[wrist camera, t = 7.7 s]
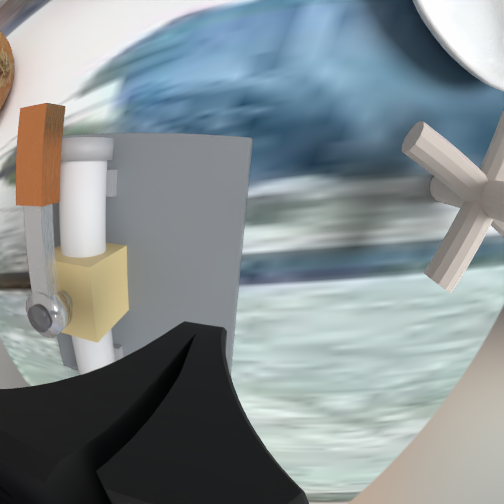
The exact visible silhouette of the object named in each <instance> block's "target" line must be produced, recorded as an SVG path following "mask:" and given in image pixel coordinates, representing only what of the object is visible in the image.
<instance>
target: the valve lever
mask: <svg viewBox="0 0 504 504" xmlns="http://www.w3.org/2000/svg"><path fill="white" fill-rule="evenodd" d="M64 114H65V106H61V105H56V104H50V103H44V104H39V105H34V106H29V107H24V108H21V109H20V117H19V127H18V140H17V158H16V205H22V206H24V223H25V238H26V249H27V259H28V267H29V275H30V282H31V289H32V295H30V296H29V297H28V299H27V301H26V312H27V316H28V318H29V321H30V323H31V325H32V326H33V327H34V328H35V329H36V330H37V331H38V332H39V333H40V334H41V335H43V336H45V337H48V338H53V337H55V336H57V335H58V334H59V333H60V332H61V331H62V330H63V329H65V328H66V327H67V326H68V325H69V324H70V323H71V321H72V308H71V305H70V303H69V301H68V299H67V297H66V296H65V295H64V293H63V292H62V291H61V290H59V287H58V279H57V270H56V259H55V247H54V231H53V204H54V203H58V202H60V171H61V149H62V135H63V123H64Z"/></svg>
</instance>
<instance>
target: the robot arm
mask: <svg viewBox="0 0 504 504" xmlns="http://www.w3.org/2000/svg"><path fill="white" fill-rule="evenodd" d="M226 340H227V330H226V329H225V328H224V327H219V326H212V325H205V324H199V323H193V322H187V321H184V322H182V323H181V324H179V325H177V326H176V327H174V328H173V329H171V330H170V331H168V332H167V333H165V334H163V335H162V336H160V337H159V338H157V339H155V340H154V341H152V342H150V343H149V344H147V345H146V346H144V347H142V348H140V349H138V350H136V351H135V352H133V353H131V354H129V355H127V356H125V357H123V358H121V359H119V360H117V361H115V362H113V363H111V364H108V365H106V366H104V367H101V368H99V369H96V370H93V371H91V372H88V373H85V374H82V375H79V376H75V377H71V378H68V379H64V380H61V381H57V382H53V383H48V384H43V385H37V386H31V387H23V388H14V389H0V504H309V503H308V500H307V497H306V495H305V492H304V491H303V490H302V489H301V488H300V487H299V486H298V485H297V484H296V483H295V482H294V481H293V480H292V479H291V478H290V477H289V476H288V474H287V473H286V472H285V471H284V470H283V469H282V468H281V466H280V465H279V464H278V463H277V462H276V460H275V459H274V458H273V456H272V455H271V454H270V452H269V451H268V450H267V449H266V447H265V445H264V444H263V442H262V441H261V439H260V438H259V436H258V435H257V433H256V432H255V430H254V428H253V427H252V425H251V423H250V422H249V420H248V418H247V416H246V414H245V412H244V410H243V408H242V406H241V403H240V401H239V399H238V396H237V394H236V391H235V388H234V386H233V382H232V379H231V376H230V372H229V368H228V363H227V358H226Z"/></svg>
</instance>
